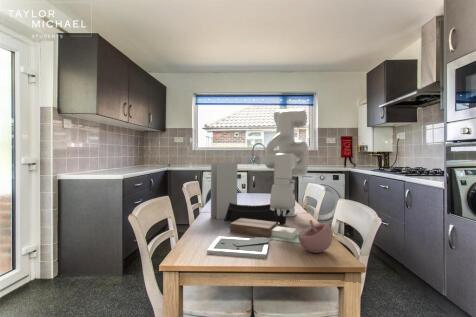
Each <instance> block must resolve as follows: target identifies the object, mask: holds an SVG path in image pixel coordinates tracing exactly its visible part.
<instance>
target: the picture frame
mask: <svg viewBox="0 0 476 317" xmlns="http://www.w3.org/2000/svg"><path fill="white" fill-rule="evenodd" d="M269 238H270V237H269ZM269 238H265V237H258V236H255V237H252V238H245V237H244V238H243V237H233V236H231V237H227V236H217V237H216V239H215V240H214V241H213V242H212V243H211V244H210V246H209V247H208V248H206V254H207V255H217V256H218V255H219V256H220V255H221V256H231V257H244V258H258V259H267V255H268V251H269V247H270V239H269Z"/></svg>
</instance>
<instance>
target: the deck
mask: <svg viewBox="0 0 476 317" xmlns="http://www.w3.org/2000/svg"><path fill="white" fill-rule="evenodd" d="M276 226H278V224H277V222H272V221H264V220H255V219H246V218H240V219H238V220H236V221H234V222H229V234H230V233H231V234H237V235H245V236H252V237H261V238H270V237H271V233H272V229H274V228H275V227H276Z"/></svg>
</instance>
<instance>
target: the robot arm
mask: <svg viewBox="0 0 476 317" xmlns="http://www.w3.org/2000/svg"><path fill="white" fill-rule="evenodd" d="M273 120H274V123H275V126H276V131H275V132H276V134H275V135H274V136H273V137H272V138H271V139H270V140H269V141H268V143H267V145H266V147H265V153H264V166H265V167H266V168H267V169H270V170H273V184H272V186H271V190H270V198H269V200H270V202H269V204H270V206H271V207H270V210H272V211H275V212H276V213H277V215H278V226H281V227H284V225H285V224H286V223H287V217H294V216H297V212H296V208H295V207H296V195H295V194H296V193H295V183H296V179H293V177H305V176H307V173H308V166H309V164H308V162H309V161H308V160H309V158H308V155H309V154H308V153H309V152H308V150H309V149H308V148H309V147H308V144H307V141H305V140H301V139H299V140H295V128H304V127H305V126H307V122H308V115H307V111H306V110H305V109H304V108H301V109H298V108H297V109H296V108H294V109H289V108H288V109H286V108H285V109H283V108H282V109H277V110H276V111H274V113H273ZM277 148H278V152H273V151H274V150H275V149H277ZM297 158H298V159H297ZM281 209H283V215H282V211H281Z"/></svg>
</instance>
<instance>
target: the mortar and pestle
mask: <svg viewBox="0 0 476 317" xmlns="http://www.w3.org/2000/svg"><path fill="white" fill-rule="evenodd" d="M309 224H310V225H309V226H308V227H306V228H304V229H302V230H301V231H299V232H300V233H299V234H298V238H299V241H300V243H301V244H300V245H301V246H302V247H303V248H304V249H305V250H306V251H308V252H310V253H314V254H315V253H316V254H318V253H323V252H325V251H327V249H329V248H330V247H331V245H332V242H333V239H334V238H333V231H332V229H331V228H332V227H330V225H329V224H328V223H327V222H318V223H315V224H314V222H313V220H312V219H310V220H309Z"/></svg>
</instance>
